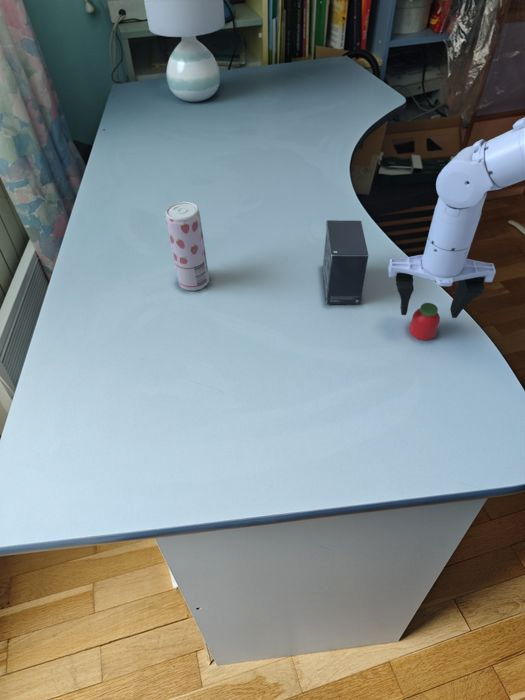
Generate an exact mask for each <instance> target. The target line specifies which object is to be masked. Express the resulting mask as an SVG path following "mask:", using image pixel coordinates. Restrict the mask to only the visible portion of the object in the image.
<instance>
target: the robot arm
mask: <svg viewBox="0 0 525 700" xmlns="http://www.w3.org/2000/svg"><path fill="white" fill-rule="evenodd" d="M523 181H525V116H524V117H522V118H520V119H518V120H517V121H516V122H515V123H514V124H513V125H512V129H510V130H507V131H506V132H504V133H502V134H500V135H498V136H496V137H494V138H491V139H489V140H487V141H485V139H483V138H481V139H480V140H478V141H476V142H474V143H473V144H472V145H471V146H466V147H465V148H463V149H462V150H460V151H459V152H457V154H456V155H455V156H454V157H453V158H452V159H451V160H450V161H449V162H448V163H447V164H446V165H445V166H444V167H443V168H442V169H441V171H440V172H439V173H438V176H437V178H436V182H435V188H436V193H437V196H438V198H437V202H436V205H435V207H434V211H433V215H432V219H431V223H430V227H429V230H428V231H429V232H428V235H427V238H426V239H427V240H426V243H425V247H424V251H423V254H417V255H413V256H408V257H401V258H390V259H389V263H388V267H387V272H388V278H395V286H396V289H397V292H398V294H399V298H400V315H401V316H407V313H408V309H409V303H410V299H411V298H412V295H413V293H414V291H415V289H414V276H415V277H418V278H422V279H425V280H430V281H433V282H436V283H435V284H436V285H437V286H438V287H451V286H453V283H454V282H458V283H457V286H456V290H455V292H454V296H453V298H452V301H451V304H450V307H449V310H450V314H451V318H452V319H457V318H458V317H459V315H460V314H461V312H462V311H463V310H464V309H465V308H466V306H468V305H469V304H470V303H471V302H472V301H473V300H474V299H476V298H478V297H479V296H482V295H483V293H484V291H485V287H486V286H485V284H484V283H485V282H486V283H492V282H493V280H494V279H495V278H494V277H495V275H496V273H497V270H496V267H495V264H494V263H493V262H492V263H491V262H484V261H479V260H474V259H470V258H468V255H469V252H470V248H471V246H472V244H473V240H474V237H475V233H476V231H477V228H478V225H479V222H480V220H481V216H482V209H483V206H484V203H485V200H486V197H487V195H488V193H487V192H491V191H498V190H501V189H502V190H503V189H504V188H508V187H509V186H512V185H514V184H517V183H520V182H523Z"/></svg>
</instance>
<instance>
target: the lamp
mask: <svg viewBox="0 0 525 700" xmlns="http://www.w3.org/2000/svg"><path fill="white" fill-rule="evenodd" d="M143 3H144V8H145V14H146V19H147V25H148V30H149V31H150V32H151V33H152V34H154V35H156V36H157V35H158V36H162V37H171V38H181V39H180V40H181V41H180V42H179V43H178V44H177V45H176V46H175V48H174V49H173V50H172V52H171V54H170V56H169V58H168V61H167V65H166V71H165V72H166V82H167V85H168V88H169V89H170V92H171V93H172V94H173V95H174V96H175V97H176V98H178V99H180V100H182V101H186V102H188V103H197V102H198V103H199V102H203V101H206V100H208V99H211V97H213V96H214V95H215V94H216V92H217V91H218V90H219V87H220V84H221V71H220V67H219V65H218V62H217V60H216V58H215V56H214V55H213V53H212V52H211V51H210V49H208V48H207V47H206V46H205V45H204V44H203V43H202V42H200V41H199V40H198V39H197V36H203V35H207V34H211V33H212V34H213V33H214V32H218V31H219V30H221V29H222V28H224V27H225V25H226V22H225V20H226V19H225V9H224V0H143Z"/></svg>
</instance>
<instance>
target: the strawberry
mask: <svg viewBox="0 0 525 700" xmlns="http://www.w3.org/2000/svg"><path fill="white" fill-rule="evenodd" d="M438 311H439V308H438V306H437V305H436V304H434V303H431V302H424V303H422V304H421V305H420V308H417V310H415V311H414V313H413V315H412V318H411V320H410V325H409V328H408V329H409V333H410V334H411V336H412V337H414V338H415V339H417V340H420V341H429V340H433V339H434V338H435V337H436V335H437V332H438V328H439V326H440V321H441V318H440V317H441V316H440V314H439V312H438Z"/></svg>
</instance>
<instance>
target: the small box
mask: <svg viewBox="0 0 525 700" xmlns="http://www.w3.org/2000/svg"><path fill="white" fill-rule="evenodd" d="M325 223H326V225H325V226H326V227H325V228H326V229H325V230H326V231H325V238H324V239H325V240H324V248H323V249H324V251H323V259H322V268H321V269H322V271H321V272H322V282H323V292H324V293H323V294H324V301H325V302H324V303H325V304H326V305H361V303H362V302H361V301H362V296H363V290H364V283H365V279H366V273H367V266H368V262H369V256H370V255H369V251H368V247H367V246H368V245H367V242H366V237H365V232H364V228H363V223H362V221H361V220H337V219H336V220H335V219H334V220H332V219H330V220H326V222H325Z"/></svg>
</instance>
